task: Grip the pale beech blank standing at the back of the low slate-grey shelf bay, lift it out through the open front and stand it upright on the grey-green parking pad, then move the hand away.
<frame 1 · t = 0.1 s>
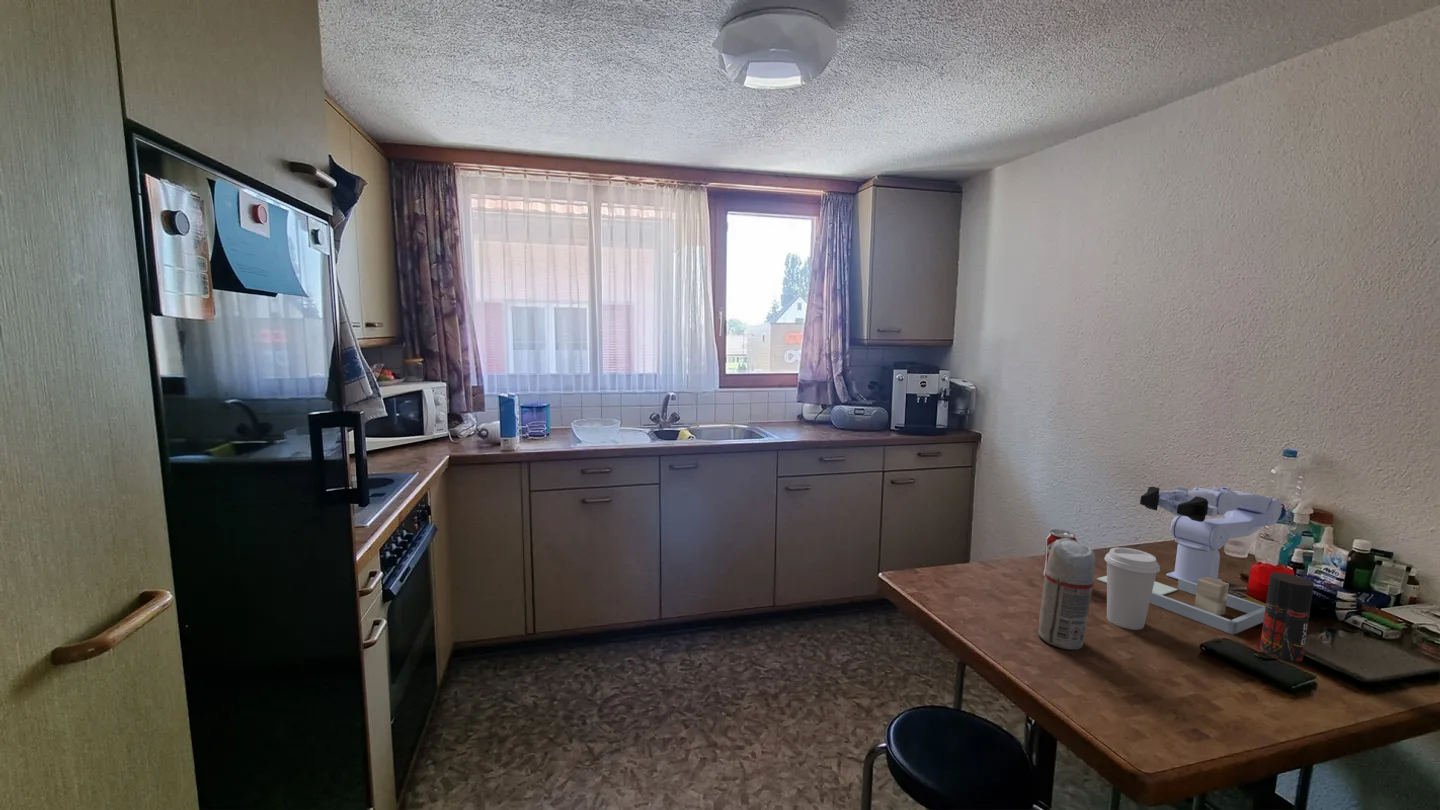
hand: (1160, 504, 135), 22 cm above the table, tool horizontal, fingers open, 7 cm apart
parking pad: (1136, 584, 142), on the table
shelf bay: (1204, 609, 129), on the table
coffee cup: (1125, 623, 123), on the table
blank: (1209, 611, 128), resting in shelf bay
deodorant: (1280, 654, 112), on the table
spray can: (1061, 641, 115), on the table
soda can: (1058, 580, 144), on the table
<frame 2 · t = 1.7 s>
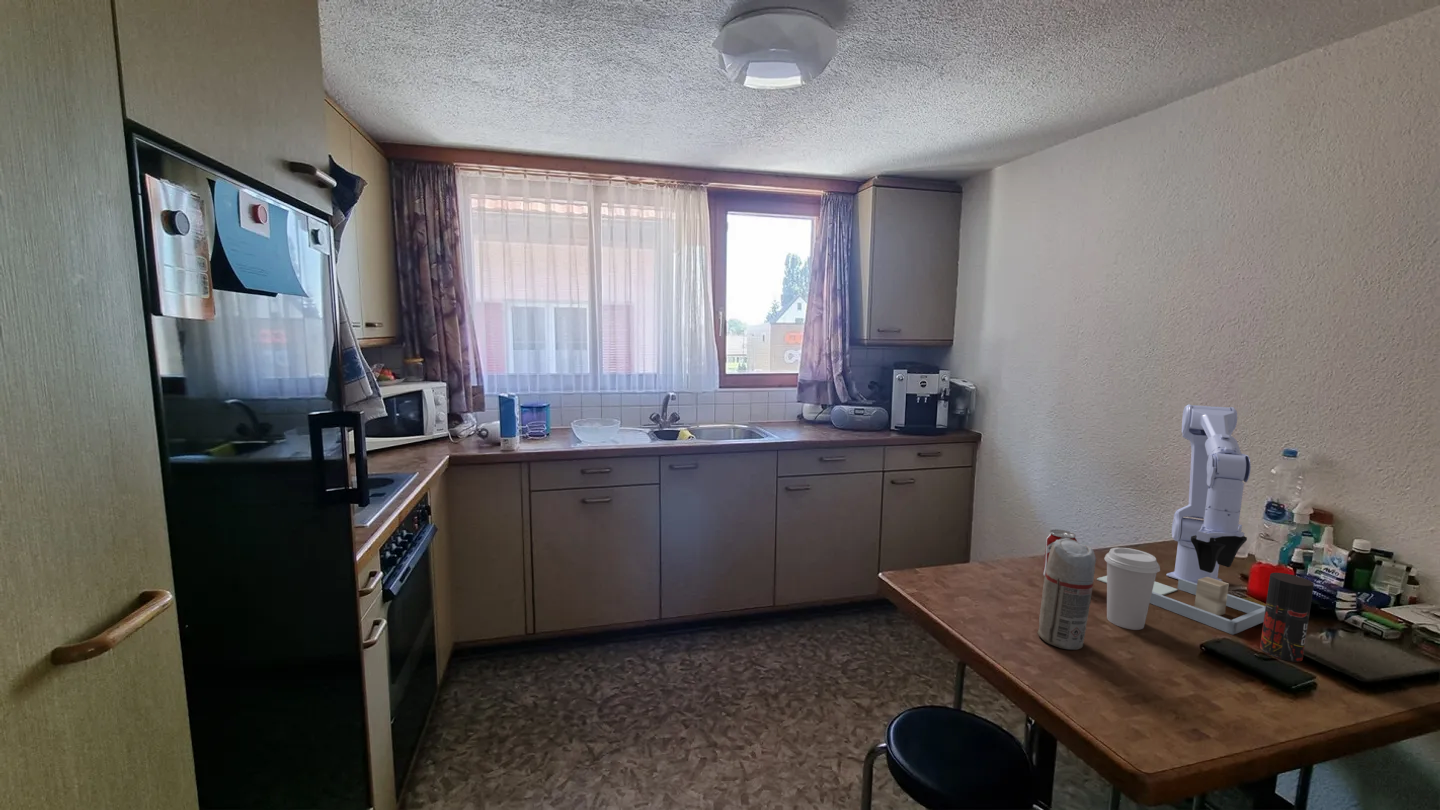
hand: (1215, 568, 127), 10 cm above the table, tool pointing down, fingers open, 7 cm apart
nothing on the table moved.
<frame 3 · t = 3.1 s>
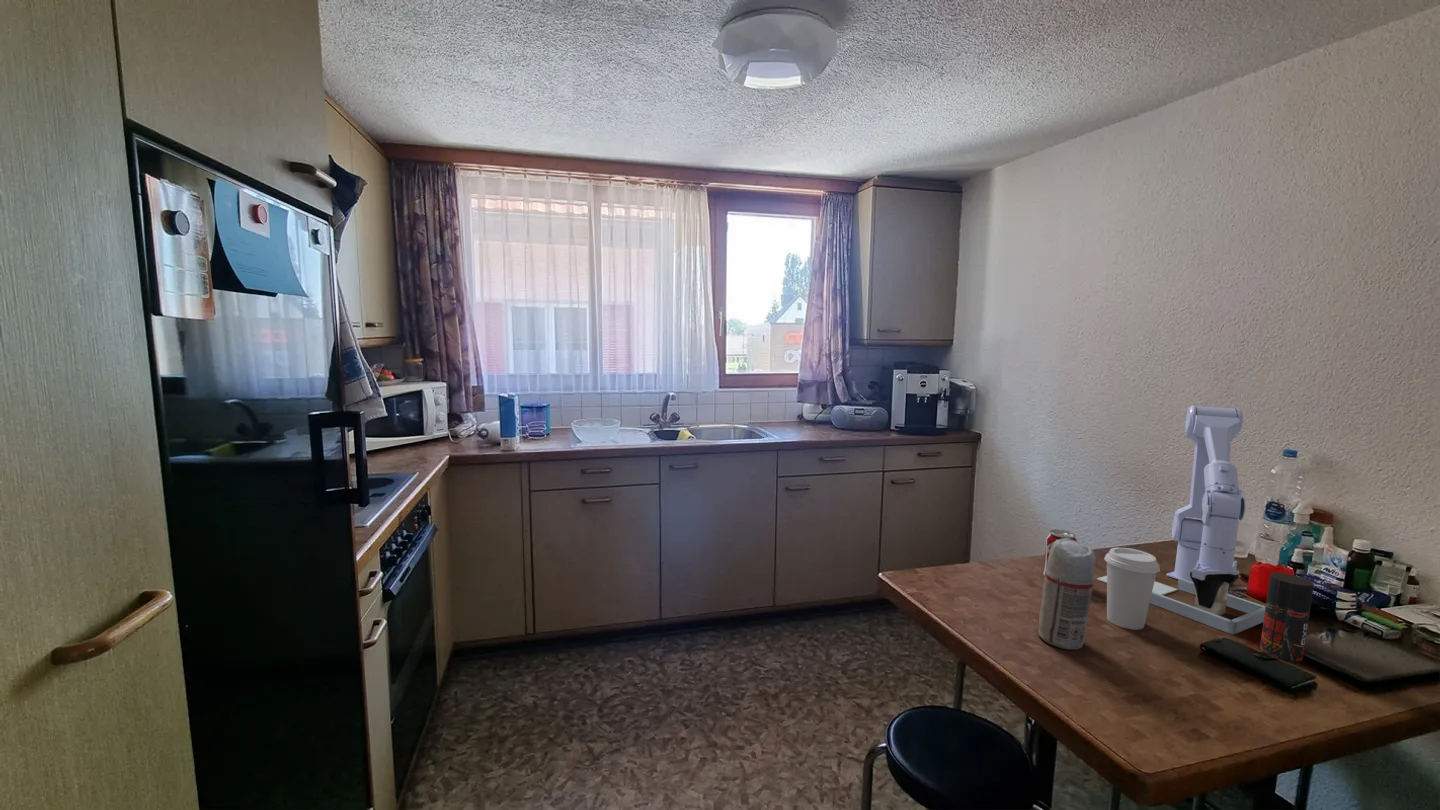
hand: (1210, 604, 128), 2 cm above the table, tool pointing down, fingers closed on blank, 4 cm apart
blank: (1209, 611, 128), resting in shelf bay, touching gripper
everything else where it was.
when the fingers open (3 cm above the table, at t = 6.2 s): blank stays where it is, resting on parking pad.
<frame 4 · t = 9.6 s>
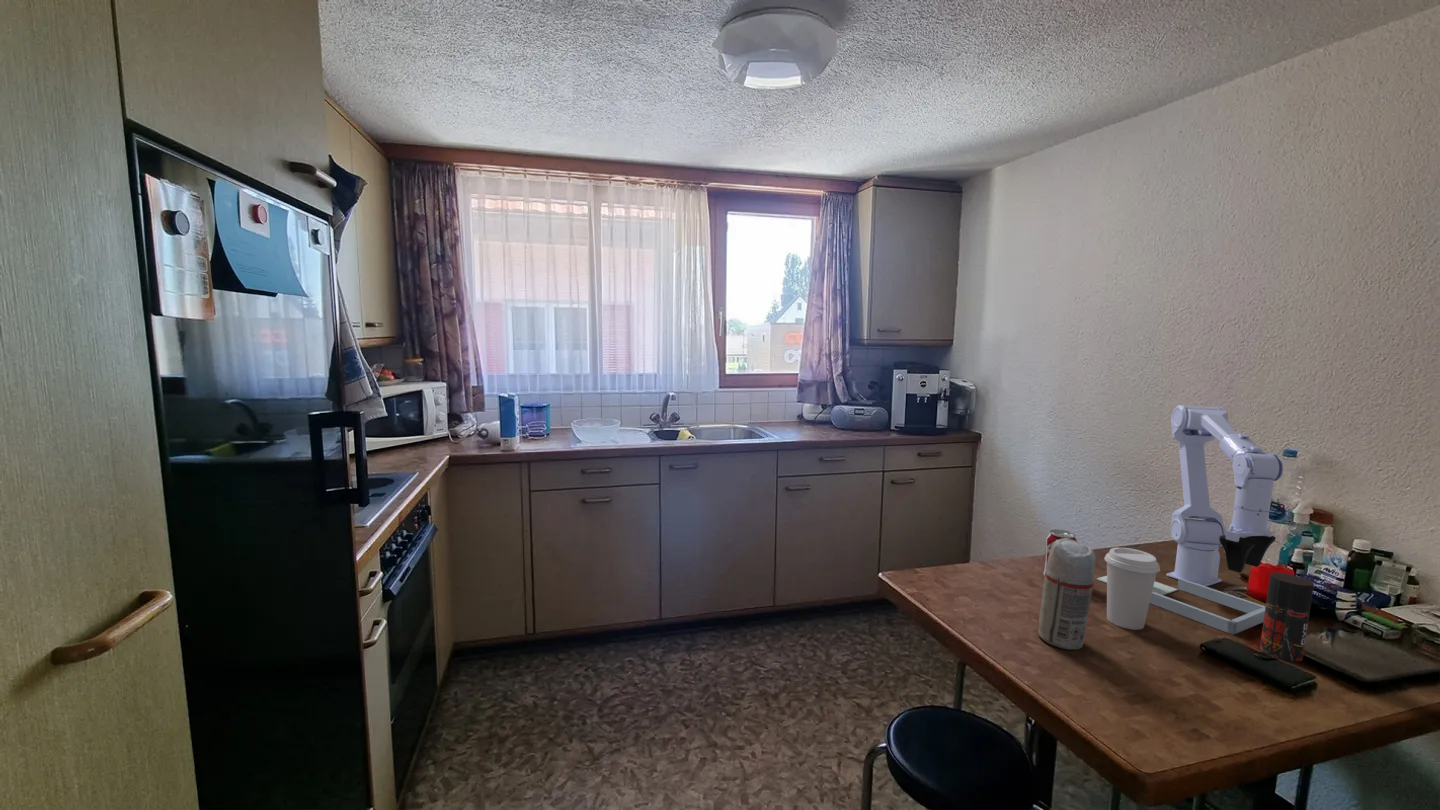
hand: (1243, 568, 127), 10 cm above the table, tool pointing down, fingers open, 7 cm apart
blank: (1138, 584, 141), resting on parking pad
everything else where it was.
at the end: blank inside the target area (0.5 cm from its centre), resting on parking pad; blank tilted 0°; the gripper is holding nothing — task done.
